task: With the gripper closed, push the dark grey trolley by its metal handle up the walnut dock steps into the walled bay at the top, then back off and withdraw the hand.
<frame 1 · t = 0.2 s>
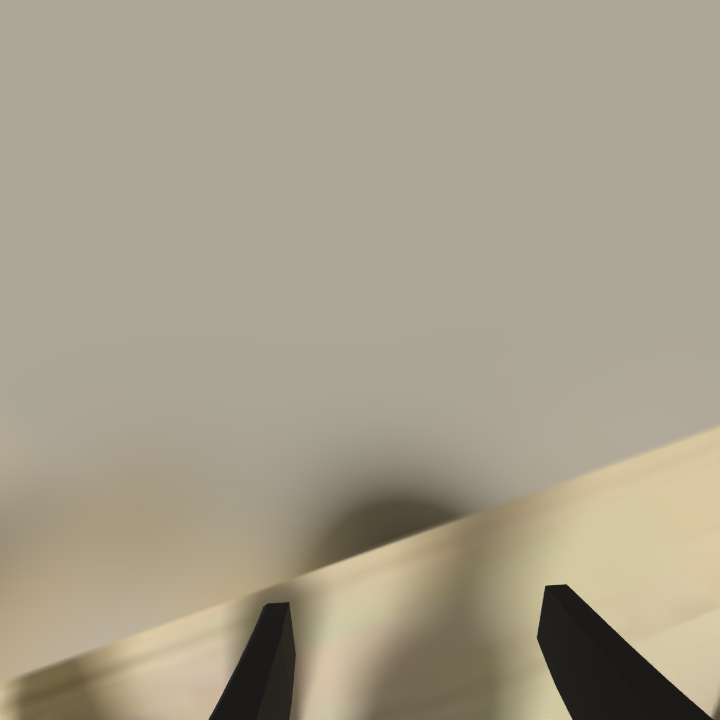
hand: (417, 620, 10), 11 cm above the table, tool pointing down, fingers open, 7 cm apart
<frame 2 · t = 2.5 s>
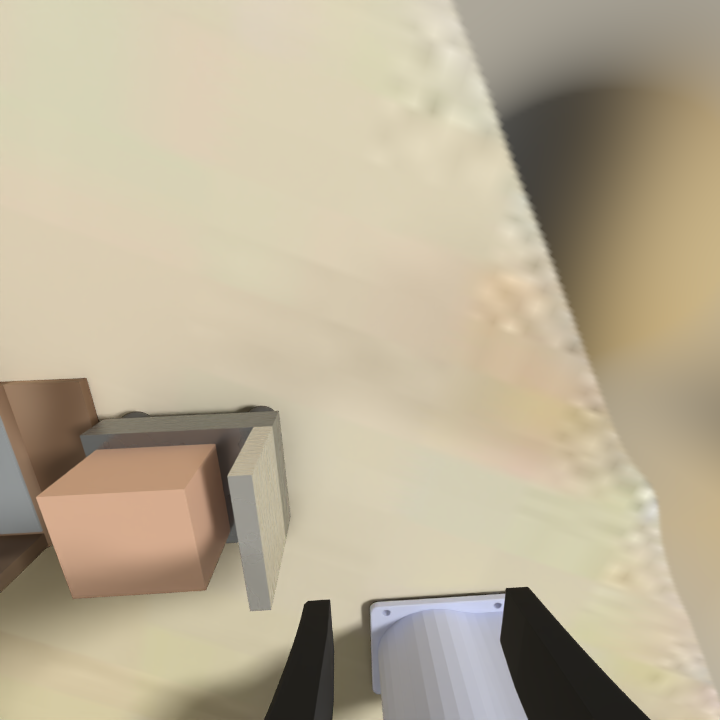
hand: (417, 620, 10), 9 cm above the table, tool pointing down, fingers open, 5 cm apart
trolley: (186, 495, 15), point 3 cm above the table, slide at 0.0 cm
dock: (60, 460, 18), on the table
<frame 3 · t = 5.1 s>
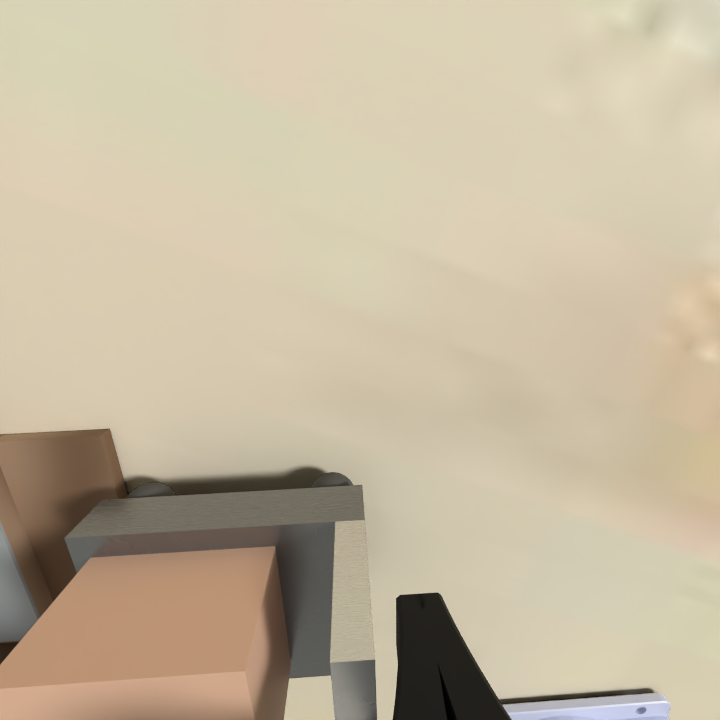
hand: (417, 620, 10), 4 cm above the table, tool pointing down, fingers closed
trolley: (229, 622, 10), point 4 cm above the table, slide at 1.0 cm, touching gripper
dock: (72, 538, 13), on the table
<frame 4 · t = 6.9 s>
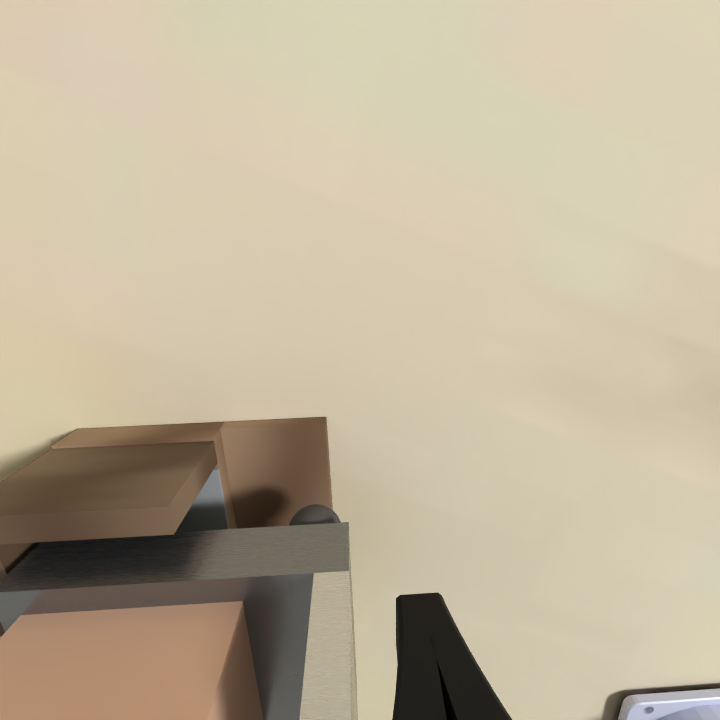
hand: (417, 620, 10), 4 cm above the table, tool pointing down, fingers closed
trolley: (188, 688, 8), point 5 cm above the table, slide at 9.0 cm, touching gripper
dock: (268, 526, 13), on the table
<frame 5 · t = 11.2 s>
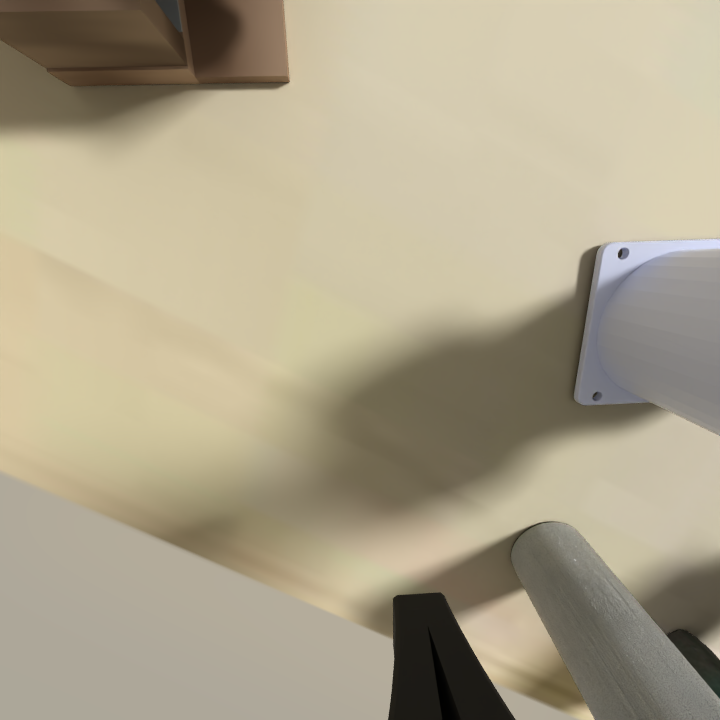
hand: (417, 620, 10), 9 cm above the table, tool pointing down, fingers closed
grey cylinder: (544, 547, 22), on the table
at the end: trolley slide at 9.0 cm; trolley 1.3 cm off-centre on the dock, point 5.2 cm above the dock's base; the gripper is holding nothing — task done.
